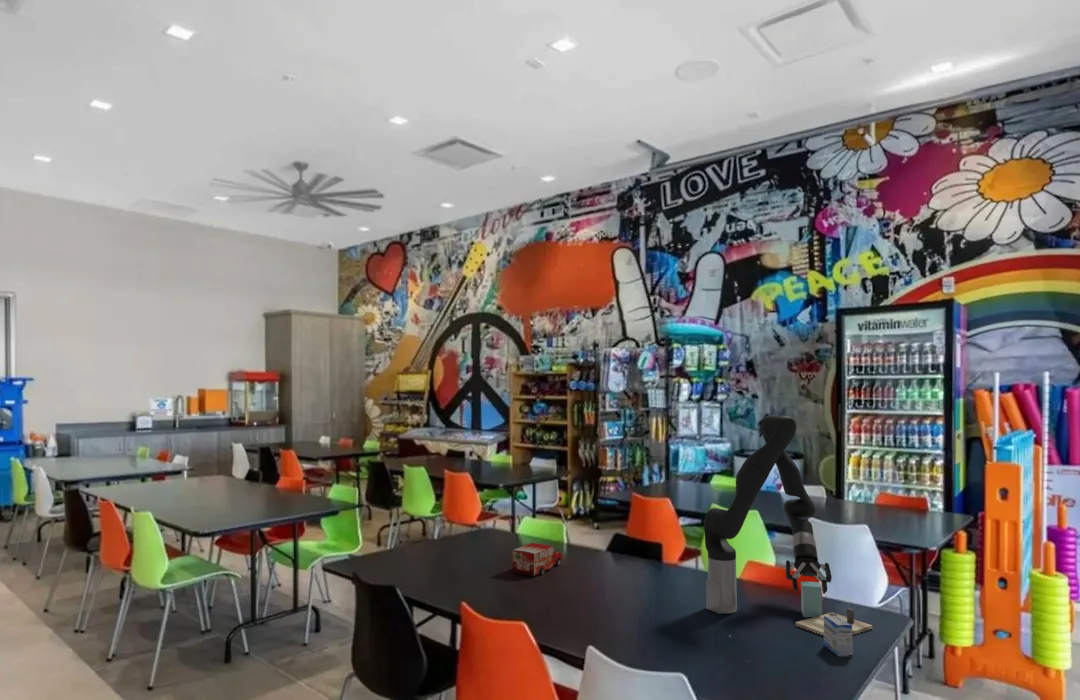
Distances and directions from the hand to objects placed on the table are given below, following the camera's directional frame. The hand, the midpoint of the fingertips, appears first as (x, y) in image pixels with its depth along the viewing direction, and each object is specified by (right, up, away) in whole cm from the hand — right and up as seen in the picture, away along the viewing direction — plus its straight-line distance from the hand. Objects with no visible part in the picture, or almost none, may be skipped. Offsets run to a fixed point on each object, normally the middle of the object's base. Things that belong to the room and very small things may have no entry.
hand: (810, 591), depth 221 cm
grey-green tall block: (0, -7, -2) cm, 7 cm away
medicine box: (-5, -6, -32) cm, 32 cm away
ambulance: (-90, -10, +52) cm, 105 cm away
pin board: (+2, -6, -14) cm, 15 cm away
